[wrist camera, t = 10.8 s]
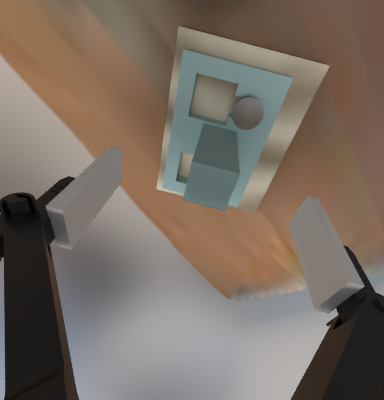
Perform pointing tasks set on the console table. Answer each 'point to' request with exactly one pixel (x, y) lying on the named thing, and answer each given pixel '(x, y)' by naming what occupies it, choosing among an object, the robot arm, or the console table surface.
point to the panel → (193, 122)
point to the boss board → (225, 99)
